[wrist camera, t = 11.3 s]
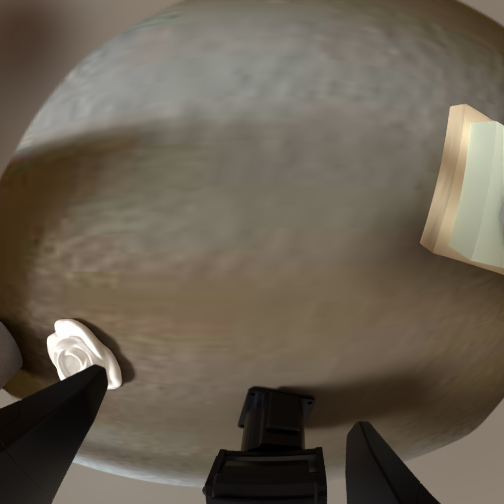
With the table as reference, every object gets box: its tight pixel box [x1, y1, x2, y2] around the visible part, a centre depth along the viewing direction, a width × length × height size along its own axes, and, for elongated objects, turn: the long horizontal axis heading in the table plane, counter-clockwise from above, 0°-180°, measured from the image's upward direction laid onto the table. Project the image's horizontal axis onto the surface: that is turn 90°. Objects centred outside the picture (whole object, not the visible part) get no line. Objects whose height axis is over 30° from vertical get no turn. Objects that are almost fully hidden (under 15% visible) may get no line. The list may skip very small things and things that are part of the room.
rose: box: [47, 319, 122, 389], centre depth 24 cm, size 10×4×10 cm
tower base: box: [420, 104, 504, 275], centre depth 16 cm, size 11×11×3 cm
